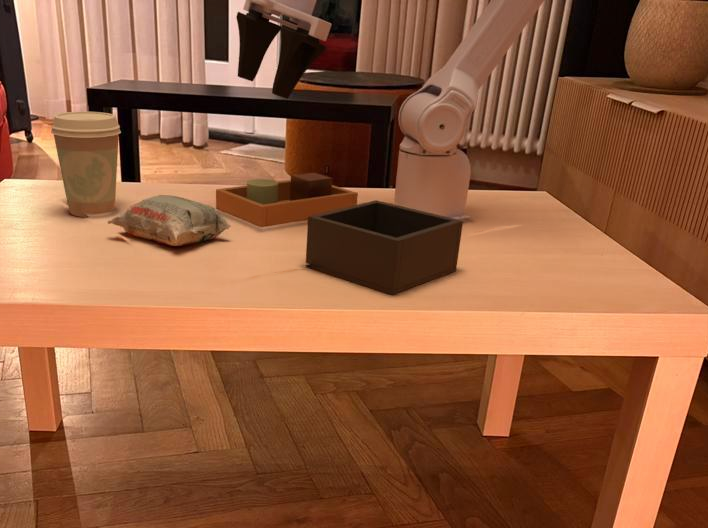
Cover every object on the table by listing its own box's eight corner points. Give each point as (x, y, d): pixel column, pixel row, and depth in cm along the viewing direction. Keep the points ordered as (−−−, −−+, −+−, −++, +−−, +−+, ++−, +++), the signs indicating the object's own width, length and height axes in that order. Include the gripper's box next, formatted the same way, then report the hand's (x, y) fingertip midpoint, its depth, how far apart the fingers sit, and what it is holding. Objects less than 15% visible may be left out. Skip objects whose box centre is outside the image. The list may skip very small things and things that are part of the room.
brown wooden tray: (307, 198, 111) (308, 177, 110) (356, 215, 104) (358, 192, 102) (215, 211, 103) (215, 189, 102) (261, 230, 95) (261, 206, 94)
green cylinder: (265, 208, 103) (266, 178, 102) (283, 215, 100) (284, 184, 99) (240, 211, 101) (241, 181, 99) (257, 218, 98) (258, 187, 97)
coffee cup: (46, 216, 98) (36, 118, 92) (76, 201, 105) (68, 109, 100) (109, 222, 96) (103, 122, 91) (135, 206, 104) (130, 113, 98)
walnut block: (312, 201, 108) (313, 172, 106) (330, 207, 105) (332, 177, 103) (289, 204, 105) (290, 175, 104) (307, 211, 103) (308, 180, 101)
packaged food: (177, 260, 84) (176, 215, 81) (107, 238, 90) (105, 195, 88) (232, 245, 90) (233, 203, 87) (163, 225, 96) (162, 185, 94)
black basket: (371, 246, 91) (375, 199, 88) (456, 270, 84) (463, 220, 81) (305, 266, 83) (307, 216, 81) (392, 295, 76) (398, 240, 74)
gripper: (239, -56, 90) (204, 63, 95) (313, -34, 81) (270, 96, 86) (284, -35, 95) (249, 77, 100) (359, -12, 85) (315, 110, 91)
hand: (262, 87), depth 93 cm, fingers open, 7 cm apart
